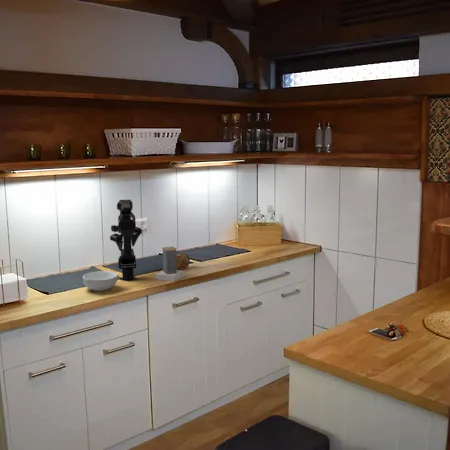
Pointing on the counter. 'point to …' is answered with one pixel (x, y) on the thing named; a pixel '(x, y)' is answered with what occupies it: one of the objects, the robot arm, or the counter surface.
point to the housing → (169, 260)
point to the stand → (170, 276)
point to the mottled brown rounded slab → (182, 261)
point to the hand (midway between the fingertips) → (126, 248)
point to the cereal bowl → (100, 280)
